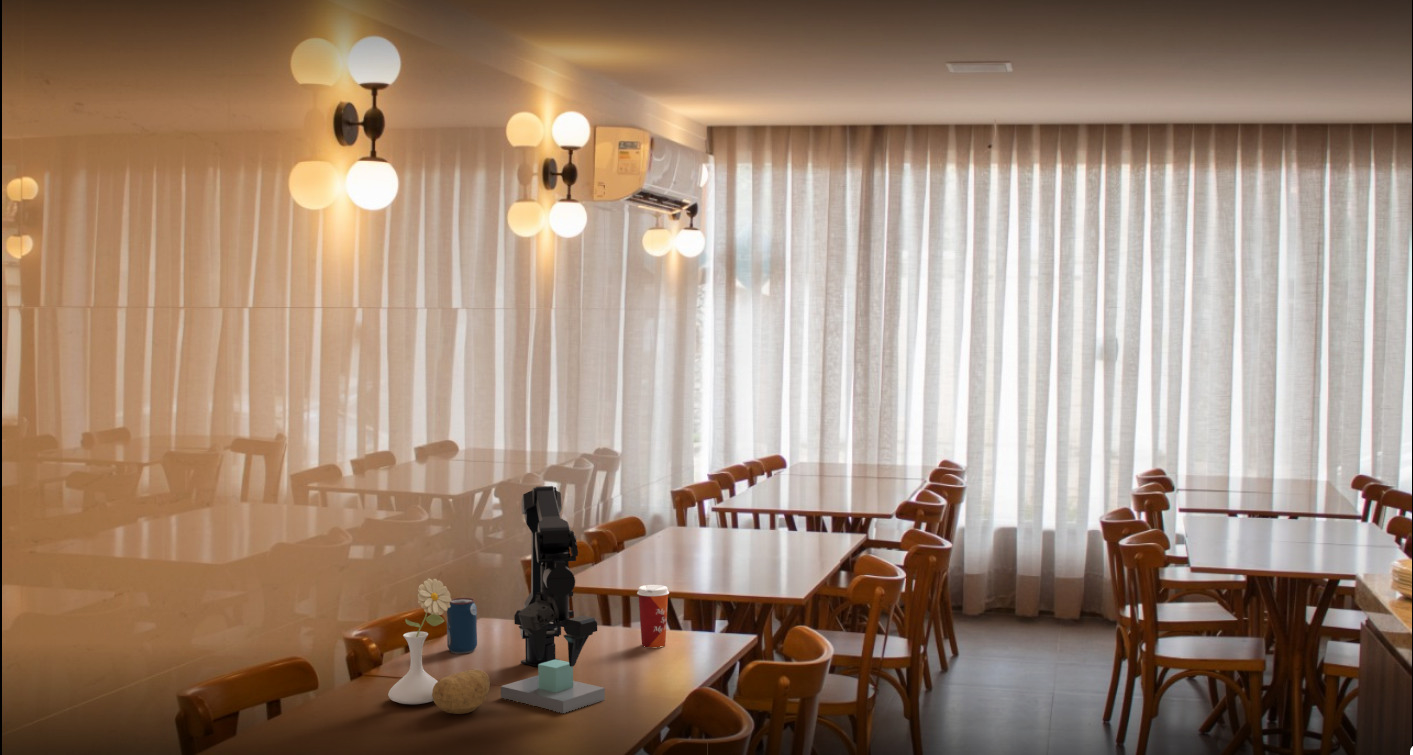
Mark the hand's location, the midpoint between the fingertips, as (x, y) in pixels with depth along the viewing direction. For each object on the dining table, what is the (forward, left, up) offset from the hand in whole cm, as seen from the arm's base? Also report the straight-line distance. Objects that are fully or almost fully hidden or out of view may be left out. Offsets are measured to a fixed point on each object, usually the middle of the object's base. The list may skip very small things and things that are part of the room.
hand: (555, 662), depth 270 cm
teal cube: (0, 0, -5) cm, 5 cm away
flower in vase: (-22, -17, -8) cm, 29 cm away
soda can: (-47, +16, -8) cm, 51 cm away
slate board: (-1, 0, -8) cm, 8 cm away
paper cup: (-14, +47, -8) cm, 50 cm away
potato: (-9, -17, -8) cm, 21 cm away
